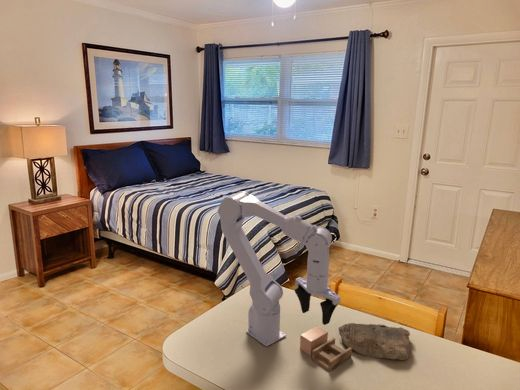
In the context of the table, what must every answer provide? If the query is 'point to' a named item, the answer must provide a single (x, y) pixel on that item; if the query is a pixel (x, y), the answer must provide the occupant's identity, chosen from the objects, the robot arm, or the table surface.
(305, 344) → the clay bar
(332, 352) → the rack
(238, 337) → the table surface
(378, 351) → the rough brown rock
